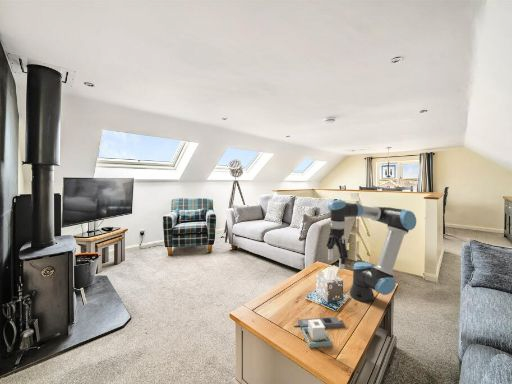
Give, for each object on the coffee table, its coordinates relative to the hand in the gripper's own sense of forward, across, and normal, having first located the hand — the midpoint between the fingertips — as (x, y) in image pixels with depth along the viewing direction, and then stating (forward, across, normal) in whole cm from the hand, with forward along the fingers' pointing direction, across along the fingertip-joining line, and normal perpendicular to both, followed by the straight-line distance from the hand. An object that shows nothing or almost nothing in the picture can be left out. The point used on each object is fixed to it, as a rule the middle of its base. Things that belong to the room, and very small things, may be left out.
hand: (335, 264), depth 127 cm
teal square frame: (+32, +16, -18) cm, 40 cm away
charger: (+31, +16, -18) cm, 39 cm away
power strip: (+32, +7, -13) cm, 35 cm away
